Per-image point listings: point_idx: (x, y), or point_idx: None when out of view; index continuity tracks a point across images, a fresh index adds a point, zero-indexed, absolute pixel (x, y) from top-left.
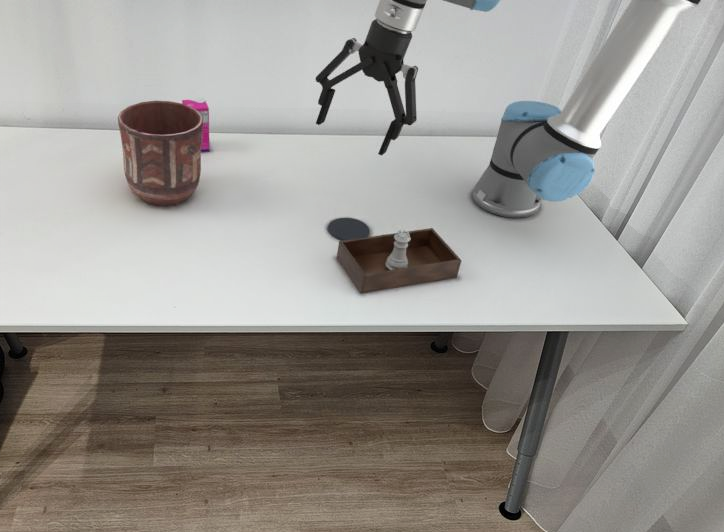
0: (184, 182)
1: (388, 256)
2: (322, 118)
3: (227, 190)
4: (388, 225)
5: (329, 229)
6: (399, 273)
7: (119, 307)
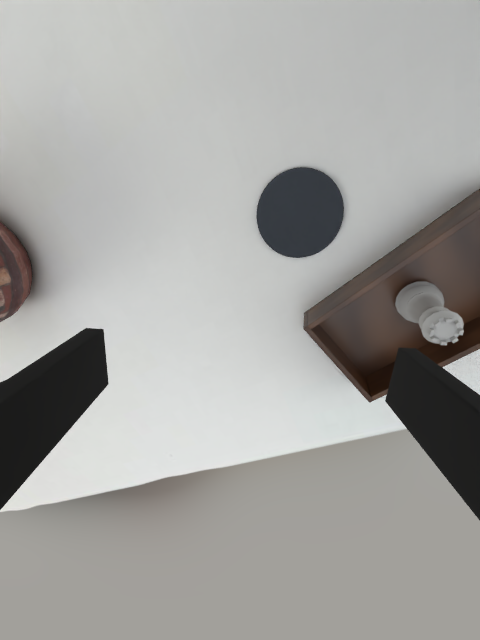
0: (6, 301)
1: (401, 302)
2: (94, 383)
3: (50, 194)
4: (380, 144)
5: (264, 237)
6: None
7: (130, 466)
